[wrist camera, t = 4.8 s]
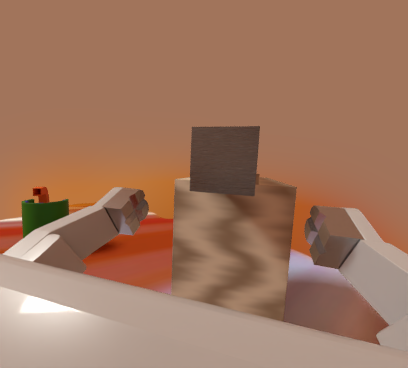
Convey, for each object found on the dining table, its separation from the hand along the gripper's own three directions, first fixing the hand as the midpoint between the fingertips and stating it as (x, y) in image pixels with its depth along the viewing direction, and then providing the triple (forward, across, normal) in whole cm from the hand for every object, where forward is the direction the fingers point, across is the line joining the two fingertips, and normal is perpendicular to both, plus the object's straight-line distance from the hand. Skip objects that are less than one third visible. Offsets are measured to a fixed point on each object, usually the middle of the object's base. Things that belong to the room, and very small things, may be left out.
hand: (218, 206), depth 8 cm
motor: (+12, +55, +37) cm, 67 cm away
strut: (+12, 0, +6) cm, 14 cm away
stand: (+3, 0, +31) cm, 32 cm away
